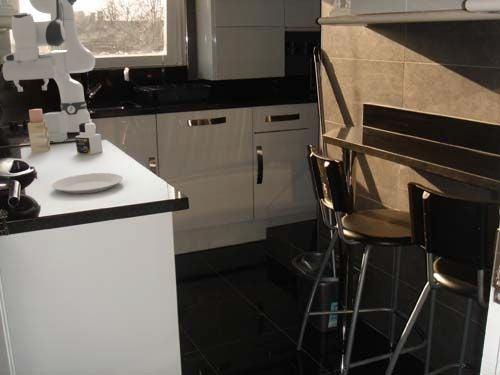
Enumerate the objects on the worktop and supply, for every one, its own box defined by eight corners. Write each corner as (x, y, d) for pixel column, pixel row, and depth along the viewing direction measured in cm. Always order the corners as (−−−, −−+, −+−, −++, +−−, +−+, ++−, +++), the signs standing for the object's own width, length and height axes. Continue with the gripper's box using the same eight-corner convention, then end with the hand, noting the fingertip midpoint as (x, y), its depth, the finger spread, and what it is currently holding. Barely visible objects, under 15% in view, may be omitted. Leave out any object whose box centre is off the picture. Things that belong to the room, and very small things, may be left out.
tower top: (32, 131, 243) (31, 121, 242) (47, 130, 244) (46, 120, 243) (28, 133, 238) (27, 123, 237) (44, 132, 238) (42, 122, 237)
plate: (67, 202, 165) (66, 194, 165) (43, 188, 182) (42, 181, 181) (134, 188, 177) (134, 181, 176) (107, 176, 193) (106, 169, 193)
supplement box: (68, 139, 268) (64, 111, 265) (61, 142, 261) (57, 113, 258) (52, 139, 269) (48, 112, 266) (45, 142, 262) (41, 114, 259)
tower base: (35, 149, 246) (34, 140, 245) (50, 149, 246) (49, 139, 245) (31, 152, 240) (30, 143, 239) (46, 151, 240) (45, 142, 239)
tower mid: (34, 140, 245) (33, 131, 244) (49, 139, 245) (47, 130, 244) (30, 143, 239) (28, 133, 238) (45, 142, 239) (44, 132, 238)
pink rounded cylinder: (32, 121, 242) (30, 109, 241) (44, 120, 242) (43, 108, 241) (29, 123, 237) (27, 110, 236) (41, 122, 238) (39, 110, 236)
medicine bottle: (76, 154, 232) (73, 124, 229) (89, 150, 238) (86, 121, 235) (90, 155, 229) (87, 124, 226) (103, 151, 235) (99, 121, 232)
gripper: (56, 53, 237) (60, 88, 240) (4, 56, 235) (9, 91, 239) (52, 54, 231) (57, 90, 234) (-1, 57, 229) (4, 93, 233)
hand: (32, 90), depth 237 cm, fingers open, 8 cm apart
